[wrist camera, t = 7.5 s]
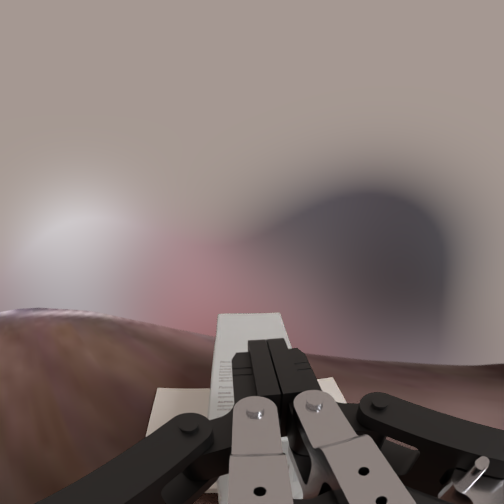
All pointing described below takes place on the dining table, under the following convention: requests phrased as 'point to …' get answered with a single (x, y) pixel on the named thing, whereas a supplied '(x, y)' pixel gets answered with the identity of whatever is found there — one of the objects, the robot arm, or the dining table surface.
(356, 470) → the robot arm
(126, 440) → the dining table surface
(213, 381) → the skincare box
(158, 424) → the mat
